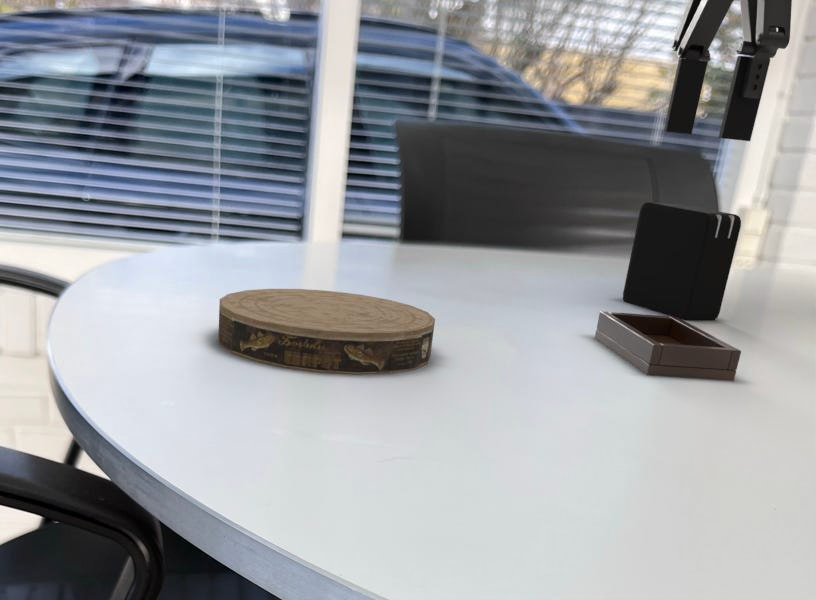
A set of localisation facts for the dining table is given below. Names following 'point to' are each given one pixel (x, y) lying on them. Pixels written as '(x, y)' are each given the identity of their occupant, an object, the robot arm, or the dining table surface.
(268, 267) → the dining table surface
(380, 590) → the dining table surface
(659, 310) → the electronic device
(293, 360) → the tin can
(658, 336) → the brown box
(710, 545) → the dining table surface
